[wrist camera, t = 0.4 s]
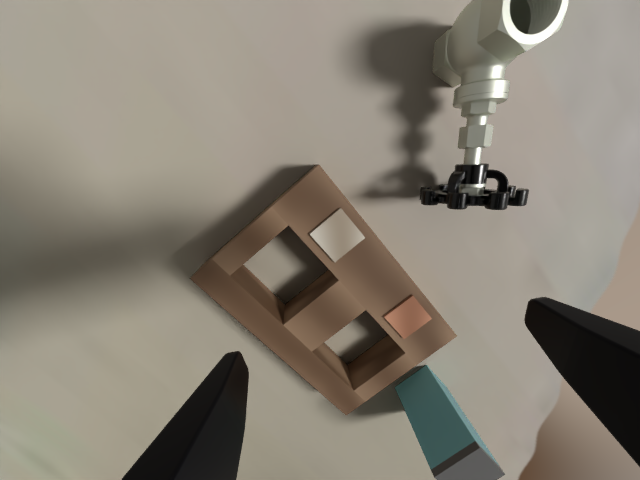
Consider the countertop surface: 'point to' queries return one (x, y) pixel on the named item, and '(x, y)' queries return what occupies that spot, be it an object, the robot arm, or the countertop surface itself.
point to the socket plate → (328, 295)
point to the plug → (445, 430)
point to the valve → (486, 88)
